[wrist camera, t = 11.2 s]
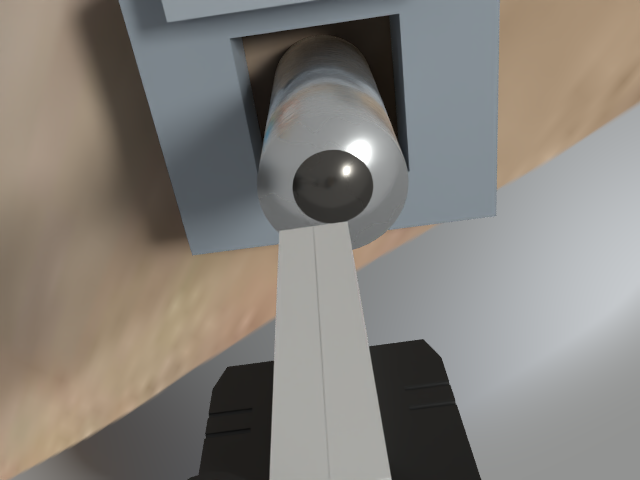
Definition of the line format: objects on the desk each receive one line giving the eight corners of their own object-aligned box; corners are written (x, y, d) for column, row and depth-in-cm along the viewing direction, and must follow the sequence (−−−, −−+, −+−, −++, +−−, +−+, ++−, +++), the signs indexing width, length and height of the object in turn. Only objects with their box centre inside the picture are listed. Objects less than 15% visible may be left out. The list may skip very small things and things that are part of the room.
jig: (203, 219, 30) (185, 276, 26) (135, -35, 24) (96, -19, 20) (476, 183, 30) (507, 235, 25) (476, -87, 24) (517, -84, 19)
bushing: (282, 138, 28) (271, 261, 19) (265, 42, 26) (243, 126, 16) (376, 125, 28) (413, 243, 18) (367, 27, 26) (404, 103, 16)
